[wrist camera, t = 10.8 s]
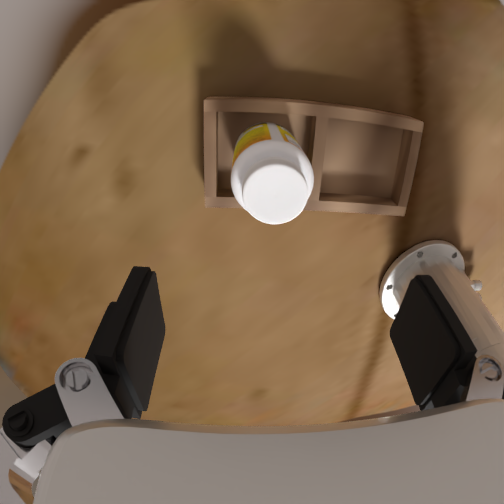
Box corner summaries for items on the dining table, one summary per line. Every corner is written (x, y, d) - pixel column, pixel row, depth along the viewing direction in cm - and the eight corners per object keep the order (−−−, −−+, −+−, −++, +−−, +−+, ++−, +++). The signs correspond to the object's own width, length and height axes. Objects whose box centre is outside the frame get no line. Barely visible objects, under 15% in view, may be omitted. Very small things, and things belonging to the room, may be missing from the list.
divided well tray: (409, 116, 26) (423, 122, 23) (392, 203, 31) (404, 216, 28) (208, 96, 25) (203, 99, 23) (208, 194, 30) (205, 207, 28)
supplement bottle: (229, 173, 28) (220, 227, 20) (241, 115, 25) (238, 140, 17) (288, 186, 29) (306, 243, 20) (304, 129, 26) (333, 163, 17)
